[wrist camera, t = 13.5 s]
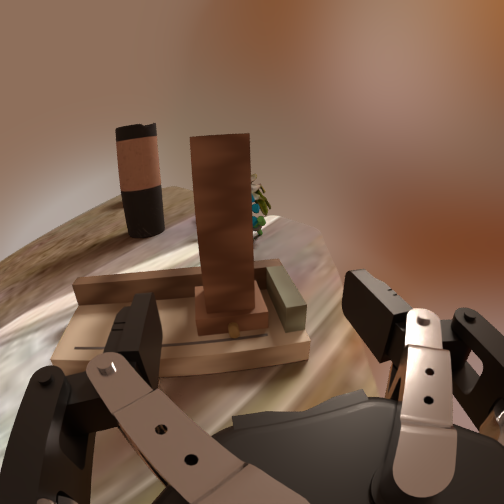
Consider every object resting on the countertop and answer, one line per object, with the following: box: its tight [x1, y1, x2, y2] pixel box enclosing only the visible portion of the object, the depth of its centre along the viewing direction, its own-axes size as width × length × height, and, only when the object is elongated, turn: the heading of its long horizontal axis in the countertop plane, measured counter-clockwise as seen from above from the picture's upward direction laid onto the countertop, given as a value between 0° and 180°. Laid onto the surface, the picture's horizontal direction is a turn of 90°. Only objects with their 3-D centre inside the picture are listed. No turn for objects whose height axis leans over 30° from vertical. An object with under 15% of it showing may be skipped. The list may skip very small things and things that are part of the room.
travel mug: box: [116, 123, 165, 238], centre depth 49 cm, size 8×8×20 cm
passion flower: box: [251, 174, 271, 216], centre depth 60 cm, size 11×11×12 cm
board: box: [50, 259, 311, 377], centre depth 24 cm, size 21×10×4 cm, turn 100°
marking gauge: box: [190, 133, 268, 338], centre depth 22 cm, size 6×6×15 cm
